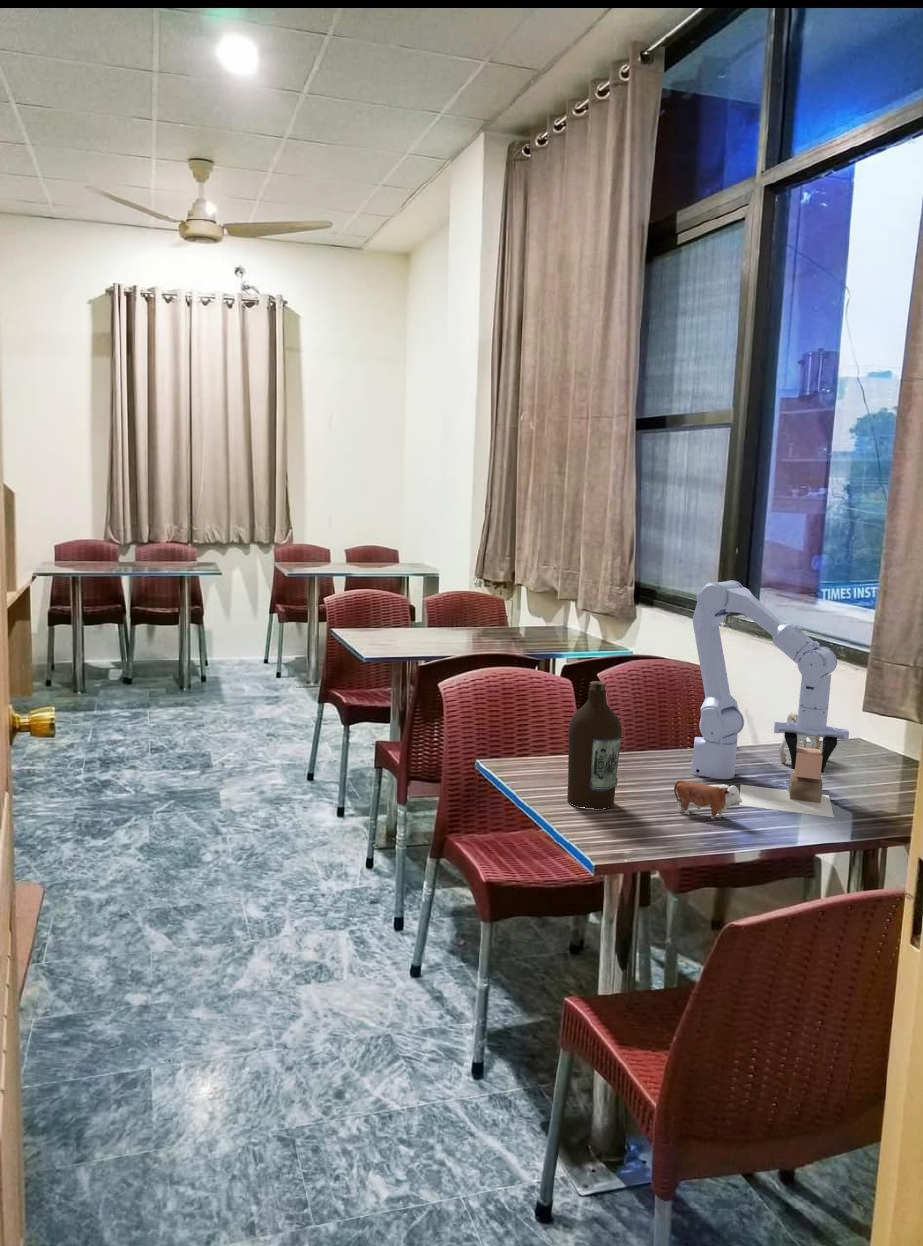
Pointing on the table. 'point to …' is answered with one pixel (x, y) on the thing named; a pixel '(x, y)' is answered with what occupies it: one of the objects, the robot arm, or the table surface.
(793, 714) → the unicorn figurine
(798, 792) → the walnut block
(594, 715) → the brown bottle
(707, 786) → the bull figurine
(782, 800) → the base plate
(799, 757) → the terracotta block
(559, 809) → the table surface
